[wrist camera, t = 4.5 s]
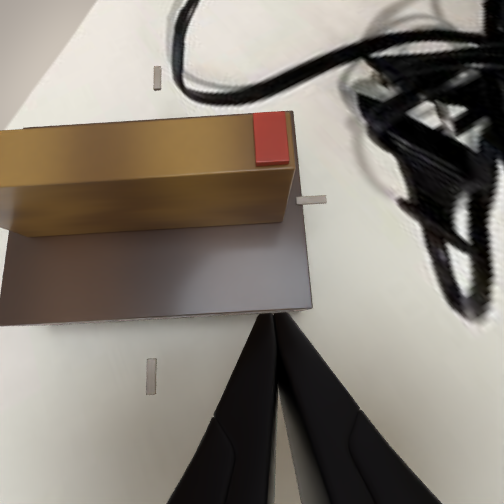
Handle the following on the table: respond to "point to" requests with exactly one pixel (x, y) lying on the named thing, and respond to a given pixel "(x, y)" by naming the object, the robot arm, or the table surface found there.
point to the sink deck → (160, 269)
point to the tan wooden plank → (146, 175)
